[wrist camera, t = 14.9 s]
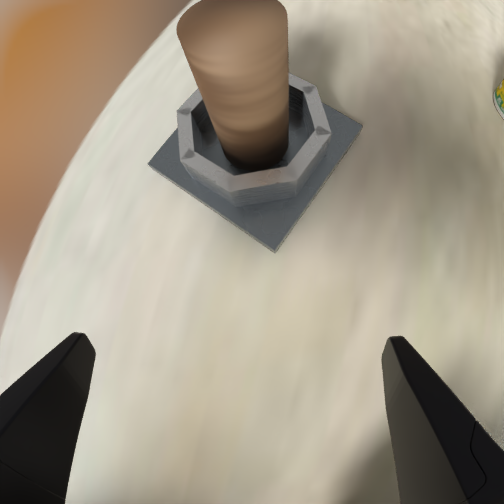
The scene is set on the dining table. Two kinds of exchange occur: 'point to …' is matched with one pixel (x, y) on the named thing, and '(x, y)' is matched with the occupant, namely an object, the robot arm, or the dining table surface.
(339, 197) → the dining table surface
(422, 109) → the dining table surface
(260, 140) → the peg
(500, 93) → the supplement bottle
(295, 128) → the dock
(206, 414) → the dining table surface
